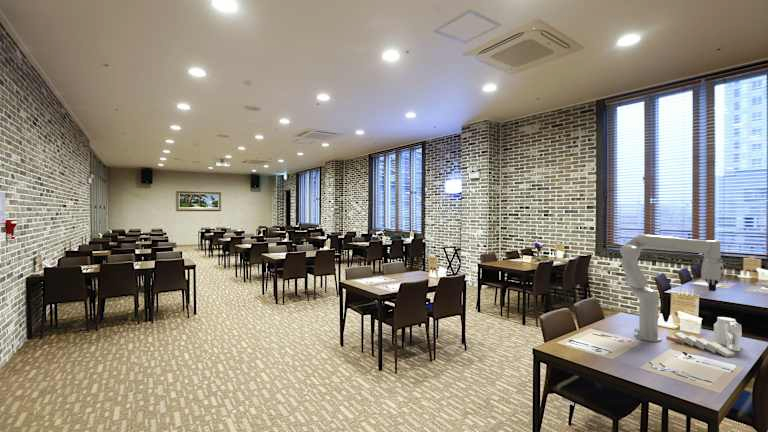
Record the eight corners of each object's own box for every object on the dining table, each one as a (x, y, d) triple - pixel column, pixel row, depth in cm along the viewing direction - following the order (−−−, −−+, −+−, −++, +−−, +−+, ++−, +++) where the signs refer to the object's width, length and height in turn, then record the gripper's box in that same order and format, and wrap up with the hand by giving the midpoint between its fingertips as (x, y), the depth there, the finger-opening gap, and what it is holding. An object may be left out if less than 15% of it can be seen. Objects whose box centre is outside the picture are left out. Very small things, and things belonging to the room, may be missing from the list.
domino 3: (703, 349, 210) (684, 339, 219) (709, 348, 213) (691, 337, 221) (704, 347, 210) (685, 336, 219) (710, 345, 212) (692, 335, 221)
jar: (712, 342, 222) (712, 318, 222) (715, 339, 228) (715, 315, 228) (738, 347, 213) (738, 322, 213) (740, 344, 219) (740, 319, 219)
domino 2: (692, 346, 216) (673, 336, 224) (697, 344, 219) (678, 334, 227) (693, 343, 215) (674, 333, 224) (698, 341, 218) (679, 331, 227)
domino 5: (726, 357, 200) (706, 345, 208) (733, 355, 201) (713, 344, 210) (727, 354, 199) (707, 342, 208) (734, 352, 201) (714, 341, 210)
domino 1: (684, 344, 220) (666, 338, 230) (690, 342, 222) (673, 337, 232) (684, 341, 220) (666, 335, 230) (690, 339, 222) (673, 334, 232)
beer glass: (745, 352, 207) (745, 325, 207) (730, 351, 208) (730, 325, 208) (735, 347, 214) (735, 322, 214) (722, 346, 215) (722, 321, 215)
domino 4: (714, 353, 205) (695, 342, 214) (721, 351, 207) (701, 340, 216) (715, 350, 205) (696, 339, 213) (722, 349, 207) (702, 338, 216)
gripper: (731, 261, 214) (731, 293, 214) (702, 259, 228) (702, 288, 228) (722, 262, 212) (722, 293, 212) (694, 259, 226) (694, 288, 226)
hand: (712, 290), depth 220 cm, fingers closed
